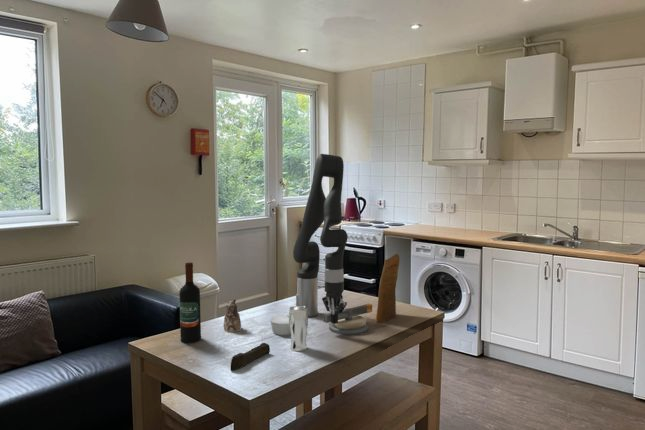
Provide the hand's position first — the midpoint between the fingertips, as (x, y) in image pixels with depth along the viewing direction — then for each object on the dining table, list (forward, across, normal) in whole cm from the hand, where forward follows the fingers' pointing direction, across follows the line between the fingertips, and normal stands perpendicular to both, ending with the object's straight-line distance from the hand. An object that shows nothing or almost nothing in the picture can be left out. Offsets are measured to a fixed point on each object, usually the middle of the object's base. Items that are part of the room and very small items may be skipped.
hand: (334, 323), depth 190 cm
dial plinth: (+5, +3, -10) cm, 12 cm away
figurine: (+5, +33, +27) cm, 43 cm away
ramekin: (+5, +17, +12) cm, 21 cm away
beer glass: (+5, -2, +19) cm, 20 cm away
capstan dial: (+3, +3, -10) cm, 11 cm away
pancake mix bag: (+5, +2, -33) cm, 34 cm away
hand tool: (+6, -2, +39) cm, 40 cm away
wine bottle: (+5, +32, +46) cm, 56 cm away
